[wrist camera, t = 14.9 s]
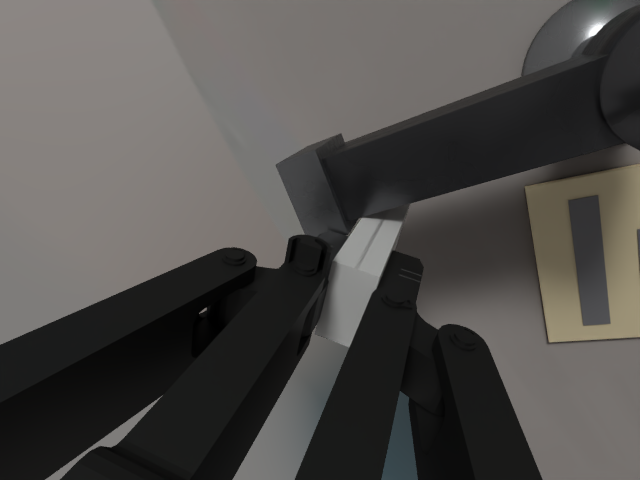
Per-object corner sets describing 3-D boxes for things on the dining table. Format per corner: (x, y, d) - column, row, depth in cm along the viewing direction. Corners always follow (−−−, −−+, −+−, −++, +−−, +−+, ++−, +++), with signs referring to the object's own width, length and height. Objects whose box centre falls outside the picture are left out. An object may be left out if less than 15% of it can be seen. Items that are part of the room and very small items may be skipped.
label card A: (709, 328, 20) (713, 333, 20) (548, 339, 23) (549, 343, 22) (707, 150, 17) (712, 152, 17) (524, 186, 20) (525, 188, 20)
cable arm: (720, -29, 12) (812, -59, 8) (733, 109, 13) (819, 126, 10) (303, 137, 17) (269, 154, 14) (337, 222, 18) (312, 255, 15)
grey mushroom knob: (691, 118, 17) (762, 137, 13) (531, 154, 19) (549, 180, 15) (688, -44, 15) (769, -79, 11) (511, 18, 17) (526, 7, 13)
